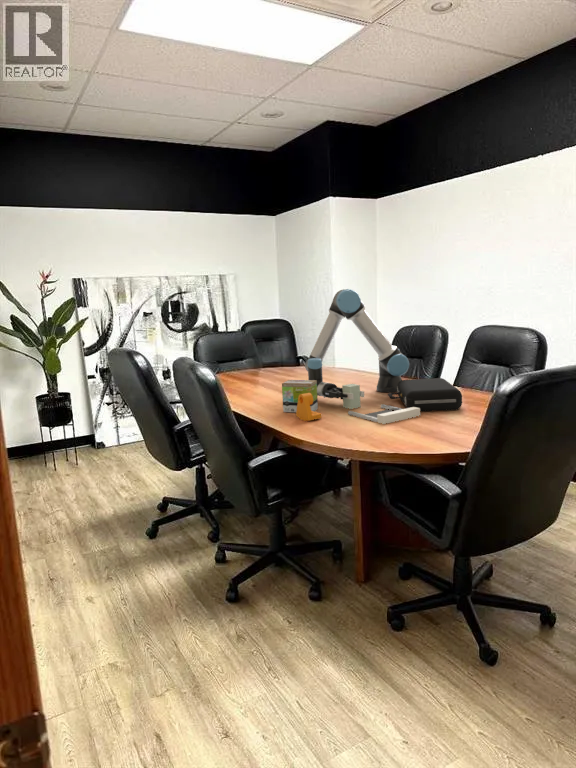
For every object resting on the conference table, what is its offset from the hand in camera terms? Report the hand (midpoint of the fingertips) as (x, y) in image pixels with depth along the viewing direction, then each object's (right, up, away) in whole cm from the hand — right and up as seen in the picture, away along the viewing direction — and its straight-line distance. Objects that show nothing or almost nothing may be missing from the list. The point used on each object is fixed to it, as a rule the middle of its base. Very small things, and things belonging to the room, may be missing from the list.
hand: (358, 395), depth 261 cm
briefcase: (+31, -5, +4) cm, 32 cm away
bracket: (-24, -11, -13) cm, 29 cm away
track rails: (+8, -8, -13) cm, 18 cm away
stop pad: (+10, -9, -16) cm, 21 cm away
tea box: (-28, -8, +5) cm, 29 cm away
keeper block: (-3, -6, +5) cm, 8 cm away
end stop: (+15, -10, -24) cm, 30 cm away
